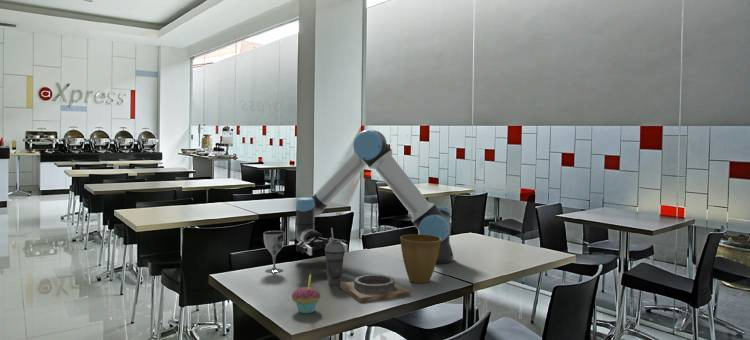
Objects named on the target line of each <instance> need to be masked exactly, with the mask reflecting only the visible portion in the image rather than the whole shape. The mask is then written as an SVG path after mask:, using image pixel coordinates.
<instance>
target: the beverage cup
mask: <svg viewBox="0 0 750 340" xmlns="http://www.w3.org/2000/svg"><path fill="white" fill-rule="evenodd" d="M333 230H334V229H333V227H330V231H331V238H332V240H331V241H329V242H328V243H327V245H325V246H326V247H325V248H324V256H325V261H326V273H327V282H328V285H333V286H334V285H336V286H337V285H340V283H342V279H343V278H342V276H343V265H344V257H345V250H344V246H343V244H342V243H341V242H340V241H338V240H334V239H335V238H334V231H333Z"/></svg>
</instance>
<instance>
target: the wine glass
mask: <svg viewBox="0 0 750 340" xmlns="http://www.w3.org/2000/svg"><path fill="white" fill-rule="evenodd" d="M285 235H286V234H285V231H283V230H267V231H264V232H263V243H264V246H265V249H267V251H268V252H269V253H270V254H271V257H272V263H273V264H272V268H266V269H265V271H264V272H265V273H269V274H276V273H279V274H280V273H282V272H284V269H283V268H280V267H278V268H277V267H276V258H277V255H278V253H279V252H280V251H281V249H282V248H283V246H284V244H285Z"/></svg>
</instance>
